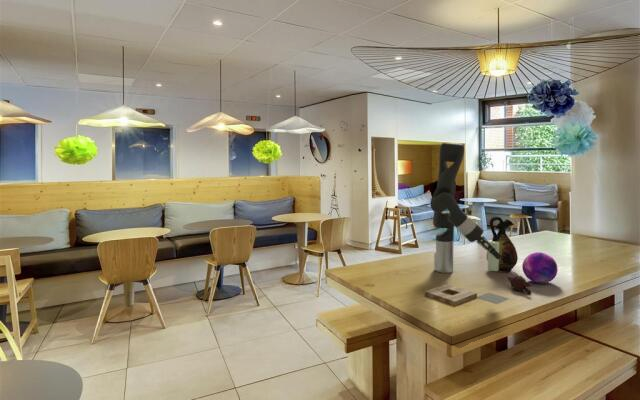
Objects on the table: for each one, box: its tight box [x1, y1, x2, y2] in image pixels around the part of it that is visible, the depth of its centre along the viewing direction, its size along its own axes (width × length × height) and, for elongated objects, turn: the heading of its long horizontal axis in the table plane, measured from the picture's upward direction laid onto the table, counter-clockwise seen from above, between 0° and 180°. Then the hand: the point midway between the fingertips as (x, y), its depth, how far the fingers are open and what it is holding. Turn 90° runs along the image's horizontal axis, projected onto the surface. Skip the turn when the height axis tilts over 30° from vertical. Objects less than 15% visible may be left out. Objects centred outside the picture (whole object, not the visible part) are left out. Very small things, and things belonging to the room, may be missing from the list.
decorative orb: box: [521, 251, 559, 284], centre depth 187 cm, size 15×15×15 cm
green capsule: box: [487, 240, 499, 272], centre depth 166 cm, size 4×4×12 cm
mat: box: [476, 292, 510, 305], centre depth 167 cm, size 10×10×1 cm
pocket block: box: [424, 283, 478, 306], centre depth 171 cm, size 16×16×2 cm
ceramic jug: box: [485, 215, 519, 274], centre depth 208 cm, size 17×15×30 cm
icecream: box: [506, 275, 532, 295], centre depth 178 cm, size 7×7×15 cm
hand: (497, 256), depth 165 cm, fingers closed on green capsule, 4 cm apart
